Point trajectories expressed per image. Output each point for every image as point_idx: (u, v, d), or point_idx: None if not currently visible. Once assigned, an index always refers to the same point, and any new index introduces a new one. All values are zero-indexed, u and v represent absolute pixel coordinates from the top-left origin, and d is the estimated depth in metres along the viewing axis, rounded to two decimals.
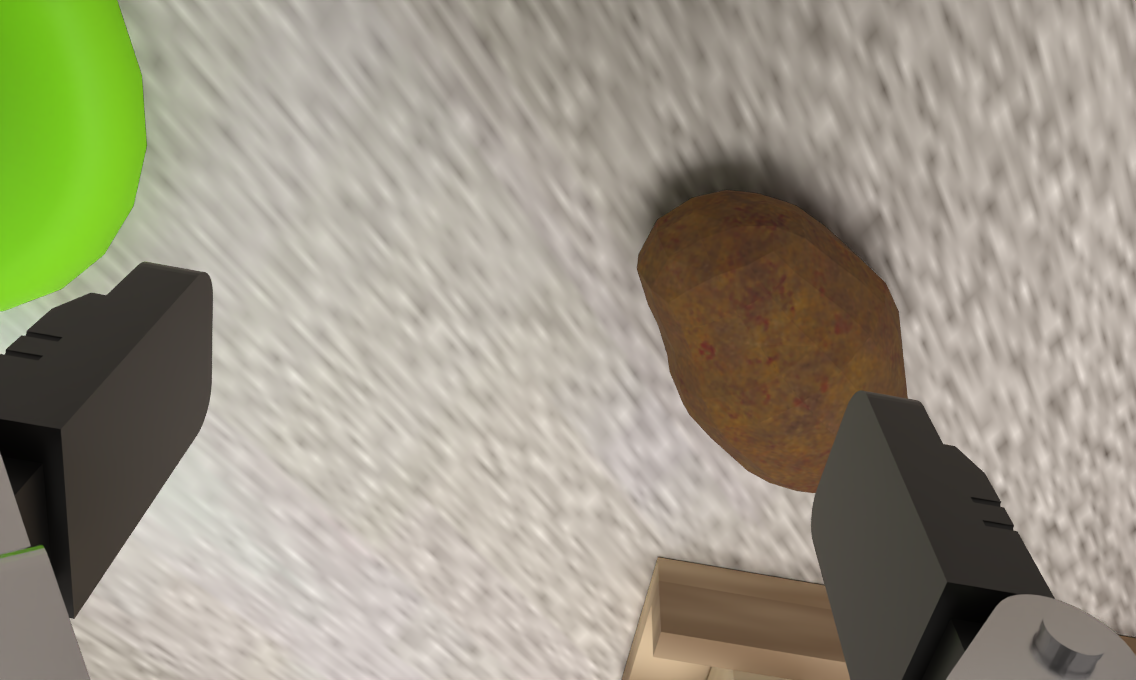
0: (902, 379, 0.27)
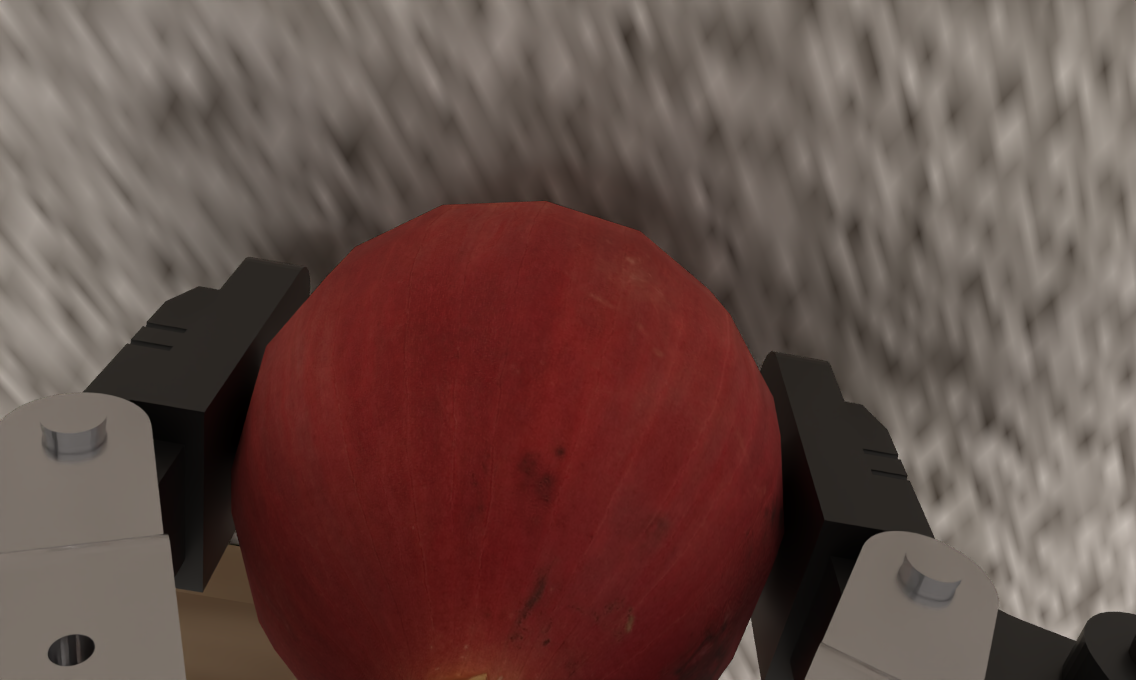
0: None
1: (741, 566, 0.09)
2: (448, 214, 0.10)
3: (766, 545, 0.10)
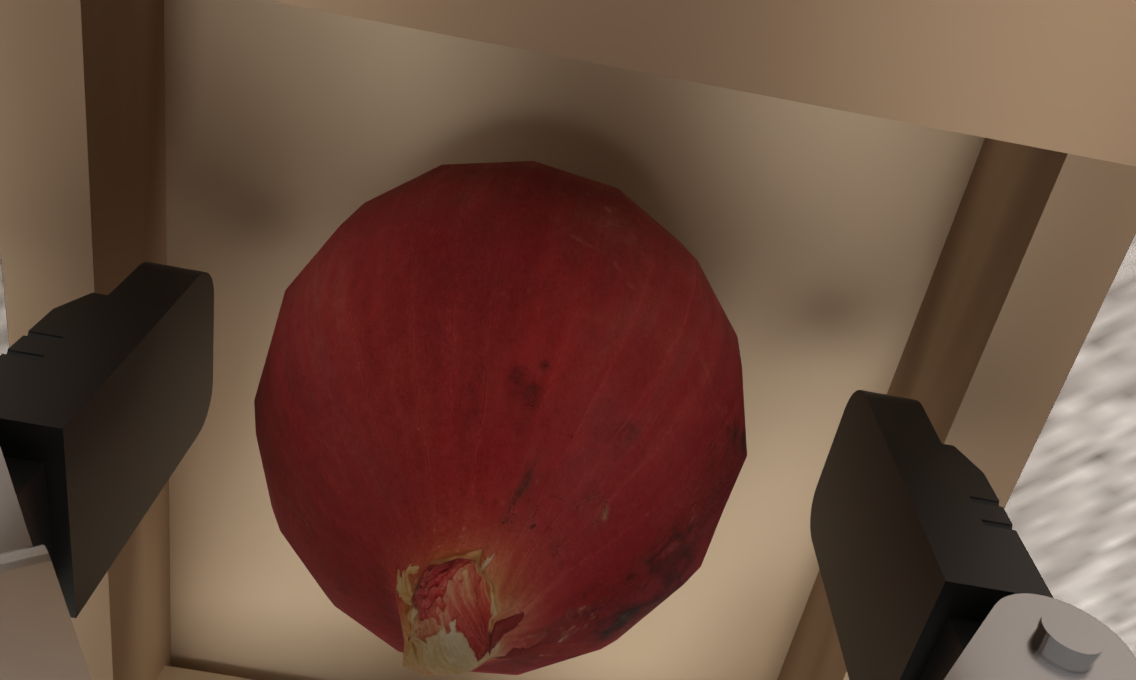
0: None
1: (704, 474, 0.10)
2: (447, 171, 0.11)
3: (729, 460, 0.11)
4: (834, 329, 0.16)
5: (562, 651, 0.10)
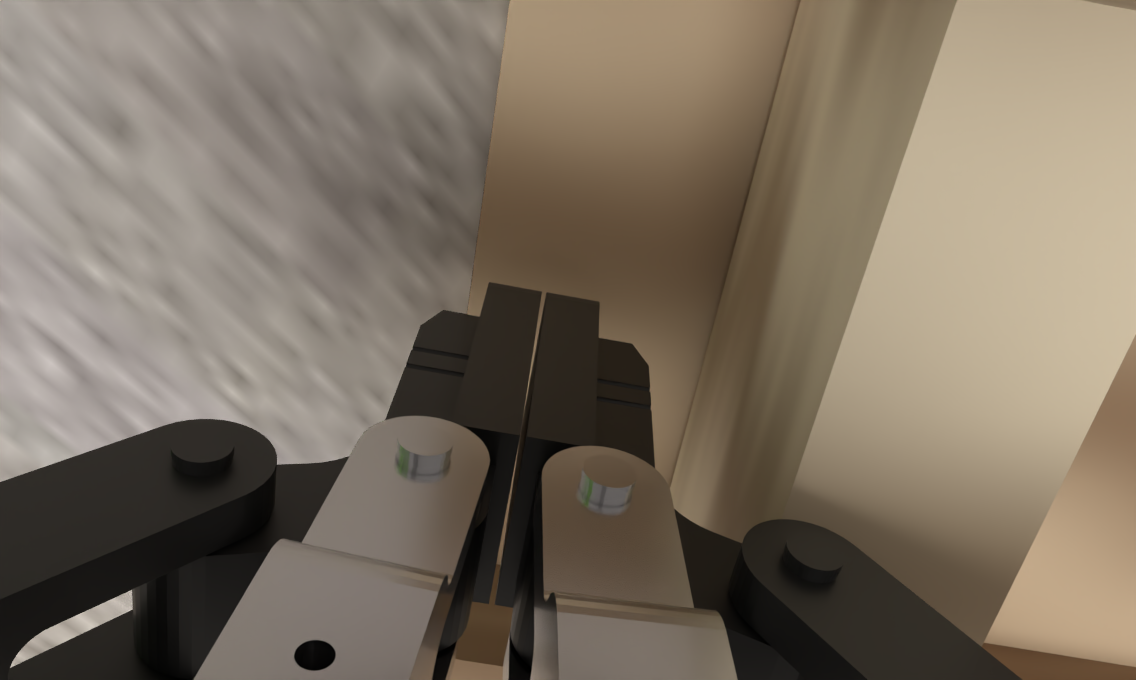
0: None
1: None
2: None
3: None
4: None
5: None
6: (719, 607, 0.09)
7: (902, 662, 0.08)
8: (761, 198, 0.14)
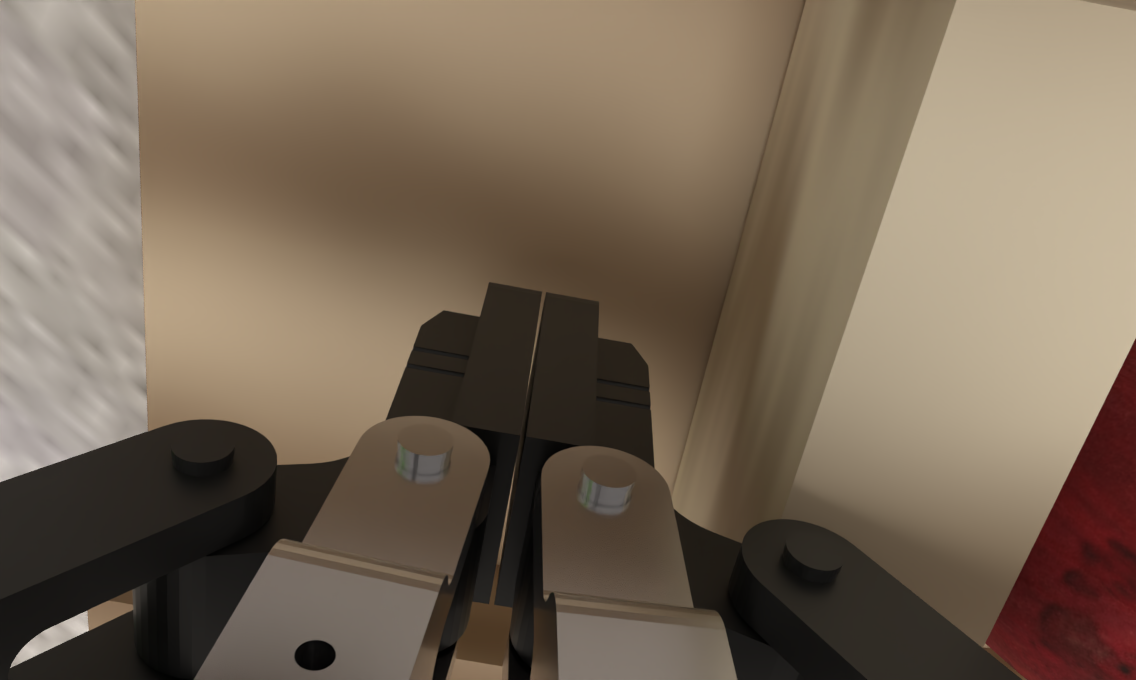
0: None
1: None
2: None
3: None
4: None
5: None
6: (719, 607, 0.09)
7: (902, 662, 0.08)
8: (765, 200, 0.14)
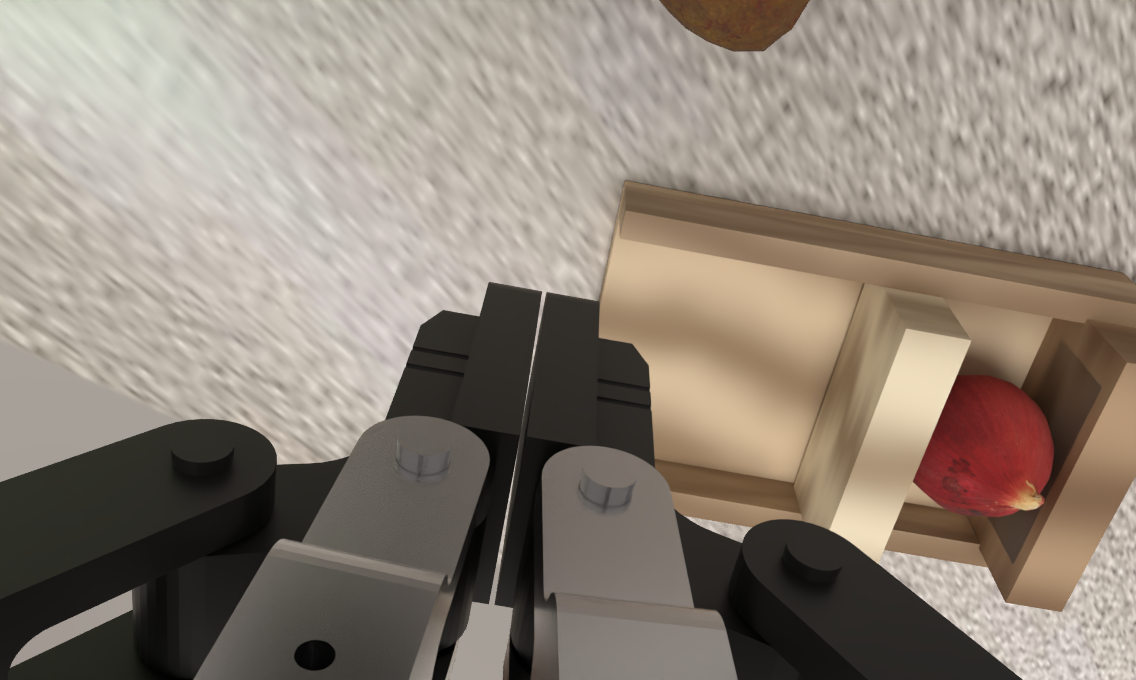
0: None
1: None
2: None
3: None
4: None
5: (984, 507, 0.40)
6: (720, 607, 0.09)
7: (902, 662, 0.08)
8: (849, 349, 0.43)
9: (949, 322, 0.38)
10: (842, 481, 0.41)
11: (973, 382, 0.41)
